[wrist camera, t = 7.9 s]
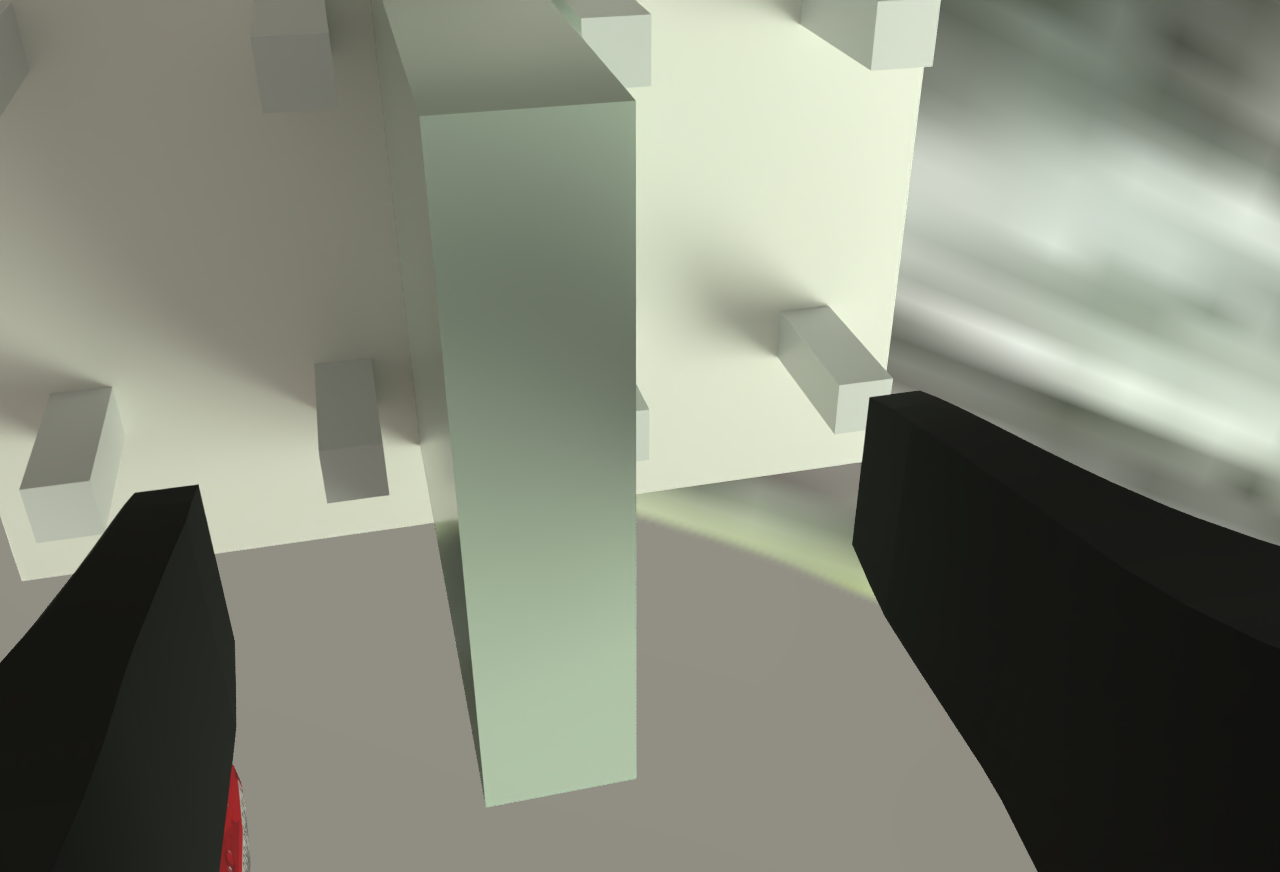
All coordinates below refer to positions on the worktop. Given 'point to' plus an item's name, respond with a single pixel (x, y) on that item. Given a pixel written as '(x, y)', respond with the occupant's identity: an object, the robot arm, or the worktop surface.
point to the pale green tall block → (522, 371)
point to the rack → (369, 261)
